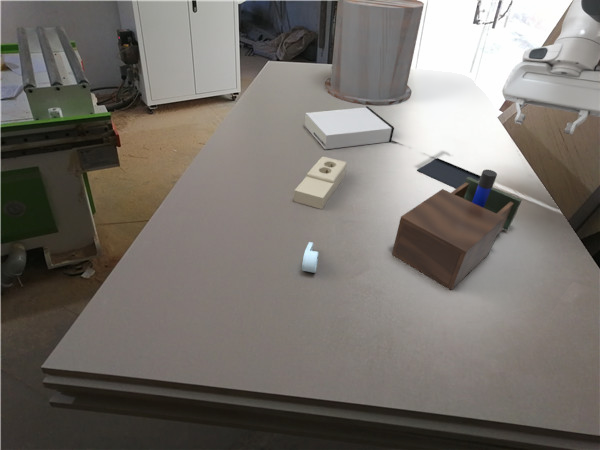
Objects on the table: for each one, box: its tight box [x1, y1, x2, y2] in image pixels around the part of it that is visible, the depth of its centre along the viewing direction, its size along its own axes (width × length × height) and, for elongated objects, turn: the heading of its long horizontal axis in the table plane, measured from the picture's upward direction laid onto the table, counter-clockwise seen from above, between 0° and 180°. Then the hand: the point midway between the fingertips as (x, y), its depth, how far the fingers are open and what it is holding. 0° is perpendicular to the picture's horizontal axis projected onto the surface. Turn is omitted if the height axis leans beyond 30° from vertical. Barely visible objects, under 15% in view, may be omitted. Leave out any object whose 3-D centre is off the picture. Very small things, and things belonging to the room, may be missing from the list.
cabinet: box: [391, 188, 504, 291], centre depth 81 cm, size 16×14×10 cm
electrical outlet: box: [293, 156, 348, 210], centre depth 101 cm, size 7×4×18 cm
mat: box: [416, 157, 481, 190], centre depth 112 cm, size 14×14×1 cm
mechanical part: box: [301, 241, 319, 274], centre depth 79 cm, size 8×2×4 cm, turn 169°
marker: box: [472, 169, 498, 208], centre depth 86 cm, size 3×3×13 cm
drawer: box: [450, 177, 523, 235], centre depth 89 cm, size 19×12×8 cm, turn 134°
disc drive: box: [304, 105, 395, 150], centre depth 128 cm, size 18×22×5 cm
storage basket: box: [324, 0, 425, 106], centre depth 155 cm, size 35×35×32 cm
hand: (542, 127), depth 83 cm, fingers open, 8 cm apart
